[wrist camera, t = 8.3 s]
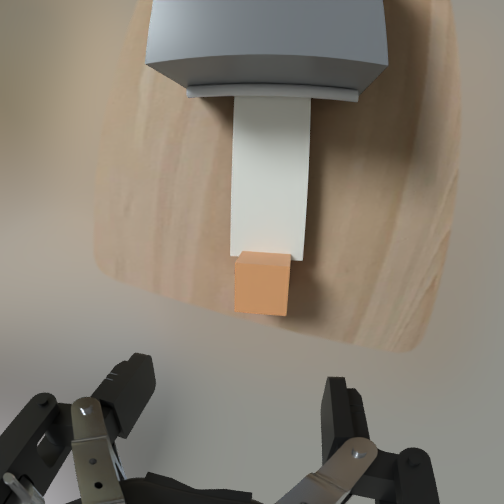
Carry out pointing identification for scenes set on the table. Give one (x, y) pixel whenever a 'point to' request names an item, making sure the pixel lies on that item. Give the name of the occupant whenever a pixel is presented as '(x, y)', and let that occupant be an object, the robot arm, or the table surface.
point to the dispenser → (269, 46)
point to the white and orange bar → (268, 198)
